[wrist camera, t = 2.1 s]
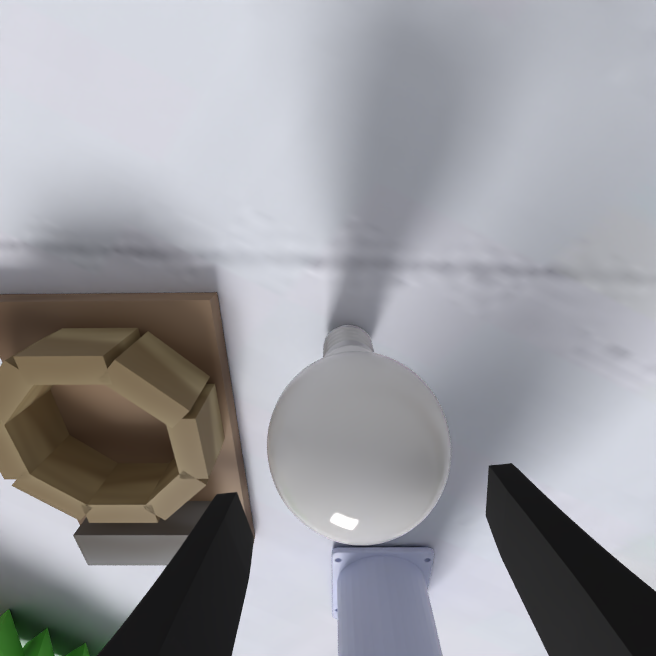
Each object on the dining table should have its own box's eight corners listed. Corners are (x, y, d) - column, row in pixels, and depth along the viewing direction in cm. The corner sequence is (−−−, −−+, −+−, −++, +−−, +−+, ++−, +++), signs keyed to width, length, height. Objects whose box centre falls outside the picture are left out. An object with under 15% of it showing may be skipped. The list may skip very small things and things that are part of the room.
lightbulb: (329, 404, 21) (329, 612, 11) (269, 325, 19) (199, 497, 9) (422, 356, 20) (518, 547, 10) (367, 265, 17) (419, 389, 7)
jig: (255, 536, 26) (242, 597, 22) (102, 536, 26) (64, 597, 23) (217, 292, 18) (186, 324, 14) (-5, 294, 18) (-95, 326, 14)
